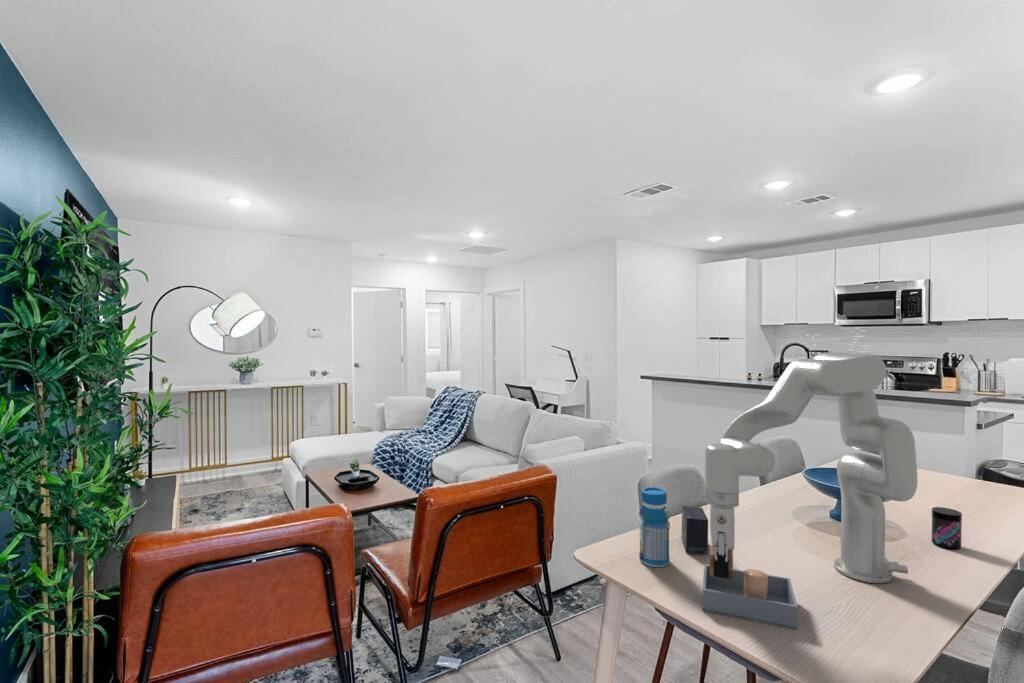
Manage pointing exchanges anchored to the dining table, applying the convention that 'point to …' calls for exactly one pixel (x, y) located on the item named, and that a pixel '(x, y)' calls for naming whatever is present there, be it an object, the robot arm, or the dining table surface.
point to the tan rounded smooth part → (755, 584)
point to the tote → (750, 599)
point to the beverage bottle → (654, 528)
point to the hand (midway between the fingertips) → (721, 570)
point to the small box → (694, 530)
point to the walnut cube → (712, 557)
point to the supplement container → (946, 528)
